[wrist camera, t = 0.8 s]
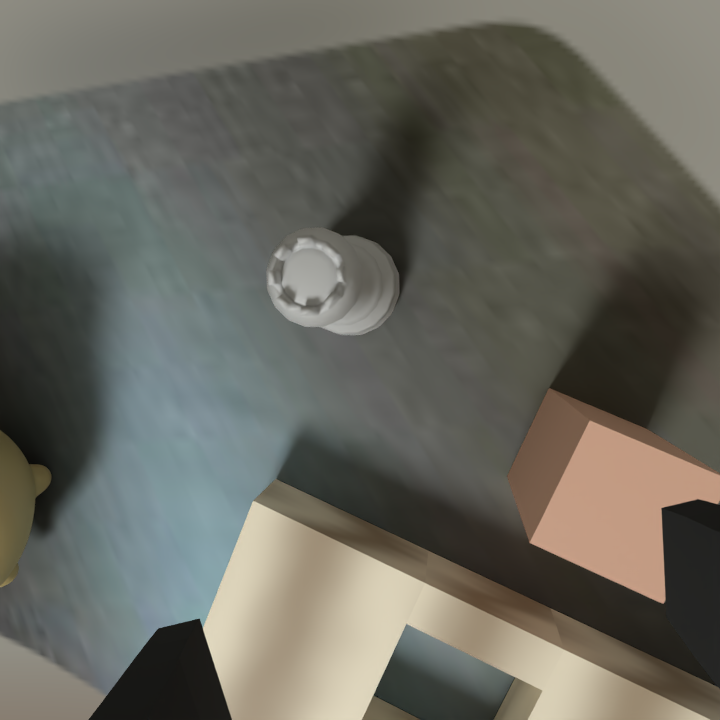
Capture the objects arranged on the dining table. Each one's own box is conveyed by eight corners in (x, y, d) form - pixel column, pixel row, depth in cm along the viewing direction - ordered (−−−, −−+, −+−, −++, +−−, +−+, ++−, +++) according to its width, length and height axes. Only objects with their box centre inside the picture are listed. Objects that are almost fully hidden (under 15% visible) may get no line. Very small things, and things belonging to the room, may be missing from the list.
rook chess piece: (313, 230, 24) (247, 192, 17) (409, 244, 24) (388, 213, 16) (298, 326, 25) (229, 334, 17) (392, 343, 24) (363, 359, 16)
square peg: (646, 428, 23) (730, 480, 16) (601, 518, 23) (663, 603, 17) (548, 387, 23) (589, 420, 16) (507, 475, 24) (529, 542, 17)
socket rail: (725, 690, 23) (764, 745, 20) (622, 866, 25) (645, 941, 22) (275, 479, 26) (253, 500, 23) (207, 650, 27) (178, 691, 24)
